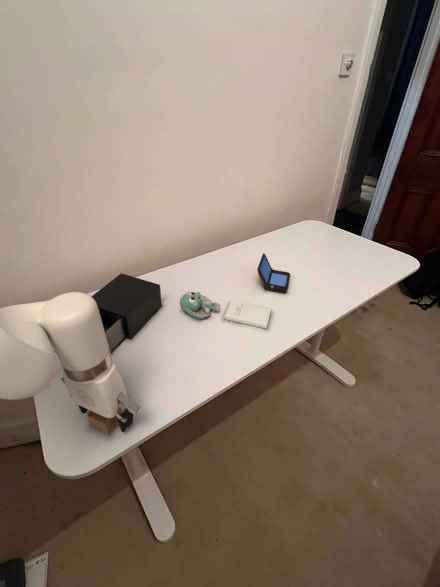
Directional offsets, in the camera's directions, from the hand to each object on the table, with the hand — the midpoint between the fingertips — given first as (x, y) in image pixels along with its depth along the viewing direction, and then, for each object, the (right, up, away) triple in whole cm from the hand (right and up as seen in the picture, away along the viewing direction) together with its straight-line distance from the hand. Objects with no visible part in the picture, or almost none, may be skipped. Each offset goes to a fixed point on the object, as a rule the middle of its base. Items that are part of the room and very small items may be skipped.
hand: (107, 416), depth 61 cm
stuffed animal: (+17, +19, +30) cm, 40 cm away
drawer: (-9, +12, +17) cm, 23 cm away
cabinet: (-4, +18, +27) cm, 33 cm away
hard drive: (+31, +18, +29) cm, 46 cm away
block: (0, -2, +1) cm, 2 cm away
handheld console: (+41, +29, +45) cm, 67 cm away
